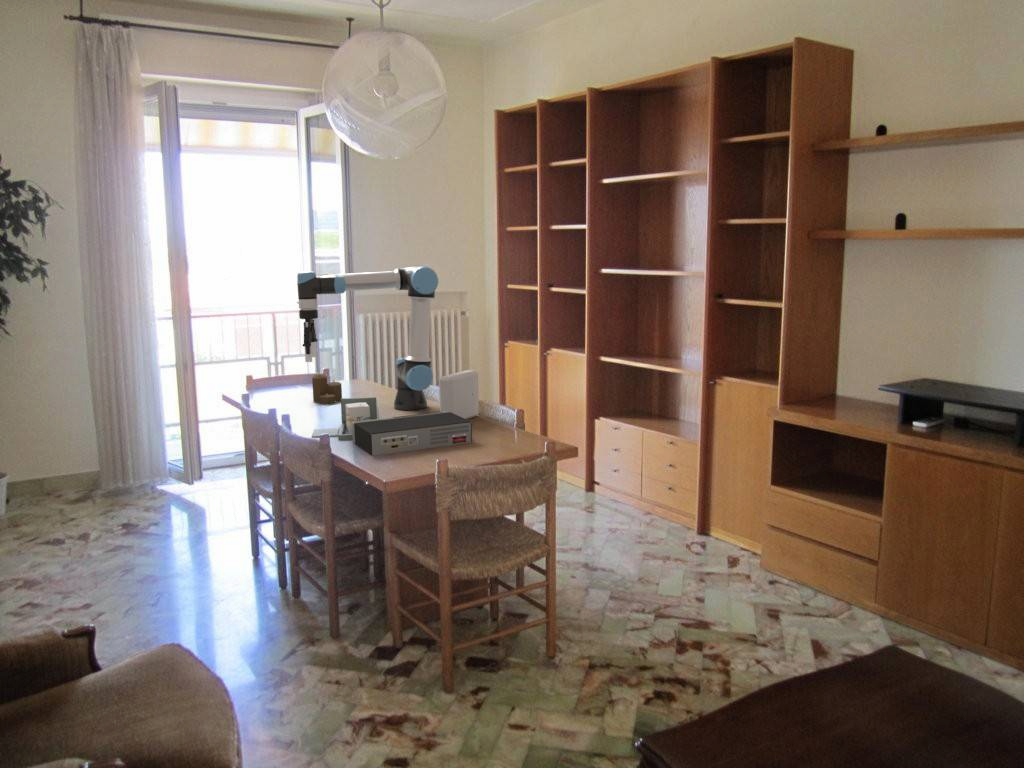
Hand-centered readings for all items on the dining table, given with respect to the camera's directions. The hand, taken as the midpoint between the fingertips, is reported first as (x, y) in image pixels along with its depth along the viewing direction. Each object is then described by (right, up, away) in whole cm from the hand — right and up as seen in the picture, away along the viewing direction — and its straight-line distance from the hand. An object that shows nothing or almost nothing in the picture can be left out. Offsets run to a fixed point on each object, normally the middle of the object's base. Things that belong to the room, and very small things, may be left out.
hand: (311, 359), depth 351 cm
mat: (+10, -30, -17) cm, 36 cm away
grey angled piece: (+23, -30, -17) cm, 41 cm away
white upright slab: (+62, -26, +5) cm, 67 cm away
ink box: (+23, -30, -17) cm, 42 cm away
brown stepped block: (-5, -19, +49) cm, 53 cm away
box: (+46, -33, -32) cm, 65 cm away
